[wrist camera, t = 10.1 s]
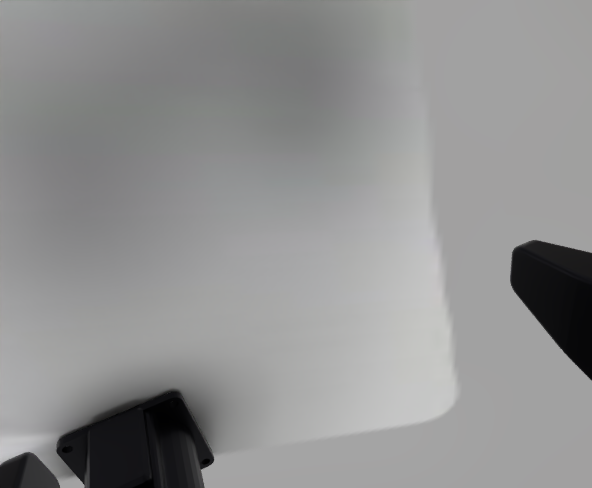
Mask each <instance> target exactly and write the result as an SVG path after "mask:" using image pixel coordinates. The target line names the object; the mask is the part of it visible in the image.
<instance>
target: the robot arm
mask: <svg viewBox="0 0 592 488" xmlns="http://www.w3.org/2000/svg"><path fill="white" fill-rule="evenodd" d="M510 282H511V286H512V288H513V290H514V292H515V293H516V294H517V295H518V297H519V298H520V299H521V300H522V302H523V303H524V304H525V305H526V307H527V308H528V309H529V310H530V311H531V313H532V314H533V315H534V316H535V318H536V319H537V320H538V321H539V322H540V324H541V325H542V326H543V327H544V329H545V330H546V331H547V332H548V334H549V335H550V336H551V337H552V339H553V340H554V341H555V342H556V343H557V345H558V346H559V347H560V348H561V349H562V350H563V352H564V353H565V354H566V355H567V356H568V357H569V358H570V359H571V360H572V361H573V362H574V363H575V364H576V365H577V366H578V367H579V368H580V369H581V370H582V371H583V372H584V373H585V374H586V375H587V376H588V377H589V378H590V379H591V380H592V253H590V252H585V251H581V250H576V249H572V248H568V247H564V246H559V245H555V244H551V243H546V242H542V241H537V240H532V241H529V242H526V243H524V244H522V245H519V246H517V247H515V248H514V250H513V252H512V261H511V275H510ZM172 401H174V402H172ZM56 451H57V454H58V455H59V456H60V457H61V458H62V460H63V461H64V462H65V463H66V464H67V465H68V466H69V468H70V469H71V470H72V471H73V472H74V473H75V474H76V476H77V477H78V478H79V479H80V480H81V481H82V482H83V484H84V485H85V488H204V483H203V478H202V473H201V469H203V468H205V467H208V466H209V465H211V464H212V463H213V462H214V457H213V452H212V450H211V449H210V447H209V445H208V443H207V441H206V439H205V437H204V436H203V434H202V432H201V430H200V428H199V426H198V424H197V423H196V421H195V419H194V417H193V415H192V413H191V411H190V409H189V408H188V406H187V404H186V402H185V400H184V398H183V396H182V395H181V394H180V393H179V392H170V393H167V394H165V395H163V396H160V397H158V398H156V399H153V400H151V401H148V402H146V403H144V404H141V405H139V406H137V407H134V408H132V409H129V410H127V411H125V412H122V413H120V414H117V415H115V416H113V417H110V418H108V419H106V420H103V421H101V422H98V423H96V424H94V425H91V426H89V427H87V428H84V429H82V430H79V431H77V432H75V433H72V434H70V435H68V436H65V437H63V438H61V439H60V440H59V441H58V442H57V450H56ZM0 488H60V485H59V483H58V480H57V479H56V477H55V476H54V475H53V474H52V472H51V471H50V470H49V469H48V468H47V467H46V466H45V465H44V464H43V463H42V462H41V461H40V459H39V458H38V457H37V456H36V455H35V454H33V453H31V452H27V453H23V454H21V455H18V456H16V457H14V458H11V459H9V460H7V461H5V462H3V463H2V464H1V465H0Z"/></svg>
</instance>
